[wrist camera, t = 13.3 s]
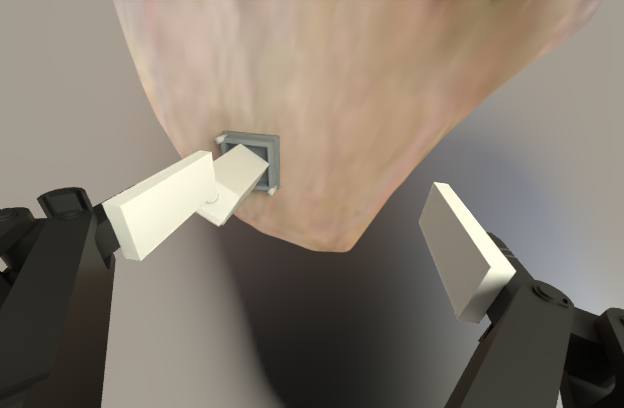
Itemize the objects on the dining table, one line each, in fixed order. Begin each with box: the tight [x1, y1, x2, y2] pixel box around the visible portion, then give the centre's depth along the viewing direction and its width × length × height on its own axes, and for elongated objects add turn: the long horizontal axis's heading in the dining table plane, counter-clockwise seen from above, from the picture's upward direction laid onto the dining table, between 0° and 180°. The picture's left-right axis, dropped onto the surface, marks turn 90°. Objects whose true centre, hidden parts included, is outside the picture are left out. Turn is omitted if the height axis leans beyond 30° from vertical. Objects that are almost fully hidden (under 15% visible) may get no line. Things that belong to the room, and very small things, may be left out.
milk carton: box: [195, 144, 269, 226], centre depth 43 cm, size 7×7×19 cm
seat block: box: [215, 131, 280, 196], centre depth 52 cm, size 12×12×5 cm
